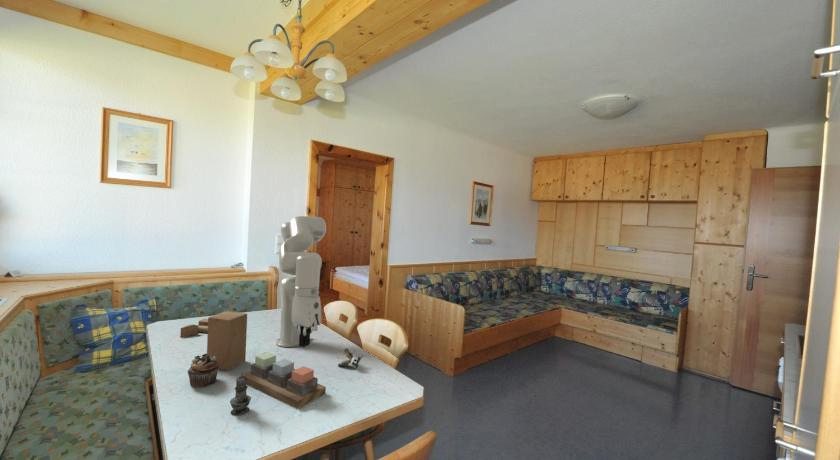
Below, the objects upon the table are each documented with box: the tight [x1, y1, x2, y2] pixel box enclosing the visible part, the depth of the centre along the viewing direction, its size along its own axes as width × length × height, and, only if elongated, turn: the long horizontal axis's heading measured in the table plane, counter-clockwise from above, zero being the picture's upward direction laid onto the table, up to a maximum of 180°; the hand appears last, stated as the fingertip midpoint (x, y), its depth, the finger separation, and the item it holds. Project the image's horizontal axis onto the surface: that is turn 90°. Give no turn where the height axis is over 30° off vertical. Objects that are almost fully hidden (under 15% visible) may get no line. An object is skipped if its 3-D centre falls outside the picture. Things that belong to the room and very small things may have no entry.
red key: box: [292, 365, 315, 385], centre depth 118 cm, size 5×5×4 cm
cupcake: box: [187, 353, 220, 389], centre depth 124 cm, size 10×10×10 cm
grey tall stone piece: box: [229, 372, 252, 417], centre depth 108 cm, size 6×6×12 cm
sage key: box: [254, 351, 277, 369], centre depth 129 cm, size 5×5×4 cm
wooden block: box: [206, 310, 248, 372], centre depth 139 cm, size 10×10×20 cm
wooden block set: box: [179, 318, 208, 338], centre depth 173 cm, size 17×6×18 cm
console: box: [242, 362, 327, 410], centre depth 124 cm, size 12×30×6 cm, turn 59°
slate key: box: [273, 358, 295, 376], centre depth 123 cm, size 5×5×4 cm
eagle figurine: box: [337, 348, 364, 369], centre depth 144 cm, size 8×7×9 cm
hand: (304, 345), depth 118 cm, fingers closed
